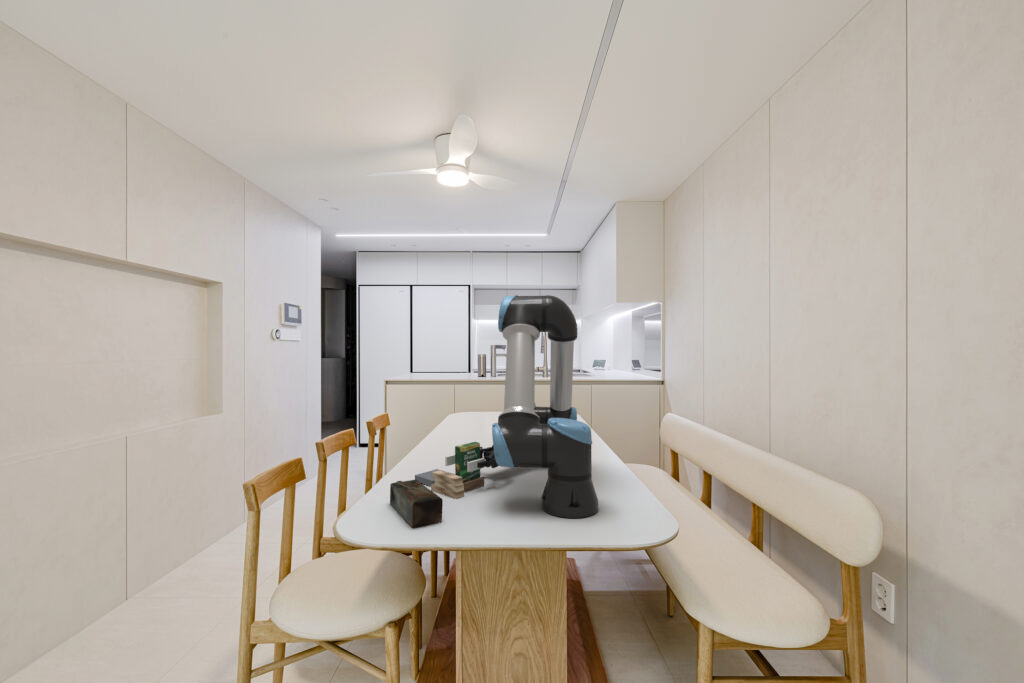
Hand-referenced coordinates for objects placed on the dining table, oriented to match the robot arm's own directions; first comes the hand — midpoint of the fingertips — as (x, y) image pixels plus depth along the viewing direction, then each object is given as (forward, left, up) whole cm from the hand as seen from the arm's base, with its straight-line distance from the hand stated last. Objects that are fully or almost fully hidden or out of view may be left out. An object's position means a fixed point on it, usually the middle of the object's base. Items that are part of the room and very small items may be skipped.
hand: (456, 464), depth 129 cm
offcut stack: (0, +3, -8) cm, 9 cm away
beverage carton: (-5, +19, -8) cm, 21 cm away
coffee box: (0, -5, -8) cm, 9 cm away
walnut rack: (0, -5, -8) cm, 9 cm away
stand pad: (+12, -2, -8) cm, 14 cm away
